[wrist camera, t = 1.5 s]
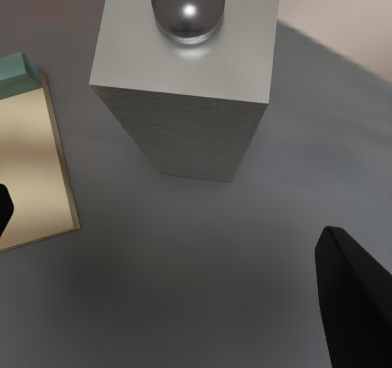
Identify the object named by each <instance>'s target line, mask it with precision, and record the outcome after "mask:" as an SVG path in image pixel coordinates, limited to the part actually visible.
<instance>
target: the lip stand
mask: <svg viewBox="0 0 392 368" xmlns="http://www.w3.org/2000/svg"><path fill="white" fill-rule="evenodd" d="M0 184H4V185H5V186H6V187H7V189H8V191H9V194H10V196H11V199H12V201H13V204H14V213H13V215H12V217H11V219H10V221H9V223H8V224H7V226H6V228H5V230H4V232H3V234H2V236H1V237H0V252H2V251H5V250H9V249H12V248H15V247H19V246H22V245H26V244H29V243H32V242H36V241H39V240H42V239H46V238H49V237H52V236H56V235H59V234H62V233H66V232H69V231H72V230H76V229H79V228H80V225H79V220H78V216H77V211H76V207H75V203H74V198H73V194H72V189H71V185H70V180H69V176H68V172H67V167H66V163H65V158H64V154H63V150H62V145H61V141H60V136H59V132H58V128H57V123H56V119H55V114H54V110H53V106H52V101H51V97H50V92H49V88H48V84H47V79H46V75H45V74H44V73H43V72H42V71H41V70H40V69H39V68H38V67H37V66H36V65H35V64H34V63H33V62H32V61H31V60H29V59H28V58H27V57H26V56H25V55H24V54H23V53H22V52H18V53H15V54H11V55H8V56H5V57H1V58H0Z"/></svg>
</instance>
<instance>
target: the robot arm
mask: <svg viewBox="0 0 392 368" xmlns="http://www.w3.org/2000/svg"><path fill="white" fill-rule="evenodd" d="M13 213H14V204H13V201H12V199H11V196H10V194H9V191H8V189H7V187H6V186H5V185H4V184H0V237H1V236H2V234H3V232H4V230H5V228H6V226H7V224H8V223H9V221H10V219H11V217H12V215H13ZM315 263H316V274H317V285H318V297H319V306H320V311H321V317H322V322H323V326H324V331H325V336H326V341H327V346H328V350H329V355H330V360H331V365H332V368H392V275H391V274H390V273H389V272H388V271H387V270H386V269H385V268H384V267H383V266H382V265H381V264H380V263H379V262H378V261H377V260H375V259H374V258H373V257H372V256H371V255H370V254H369V253H368V252H367V251H366V250H365V249H364V248H363V247H362V246H361V245H360V244H359V243H358V242H357V241H355V240H354V239H353V238H352V237H351V236H350V235H349V234H348V233H347V232H346V231H345V230H344V229H342V228H340V227H333V226H326V227H325V228H324V229H323V231H322V233H321V236H320V238H319V240H318V242H317V245H316V247H315Z"/></svg>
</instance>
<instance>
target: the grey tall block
mask: <svg viewBox="0 0 392 368" xmlns="http://www.w3.org/2000/svg"><path fill="white" fill-rule="evenodd" d="M278 2H279V0H106V2H105V7H104V12H103V17H102V22H101V27H100V32H99V37H98V42H97V47H96V52H95V57H94V62H93V67H92V72H91V77H90V82H89V85H90V86H91V88H92V89H93V90H94V91H95V93H96V94H97V95H98V96H99V98H100V99H101V100H102V101H103V103H104V104H105V105H106V106H107V108H108V109H109V110H110V111H111V113H112V114H113V115H114V116H115V118H116V119H117V120H118V121H119V123H120V124H121V125H122V126H123V128H124V129H125V130H126V131H127V133H128V134H129V135H130V136H131V138H132V139H133V140H134V141H135V143H136V144H137V145H138V146H139V148H140V149H141V150H142V151H143V153H144V154H145V155H146V156H147V158H148V159H149V160H150V161H151V163H152V164H153V165H154V166H155V168H156V169H157V170H158V171H159V173H160V174H163V175H172V176H180V177H188V178H196V179H204V180H212V181H220V182H228V183H231V182H232V180H233V178H234V175H235V173H236V171H237V169H238V167H239V165H240V163H241V161H242V159H243V156H244V154H245V152H246V150H247V148H248V146H249V144H250V142H251V139H252V137H253V135H254V133H255V131H256V129H257V127H258V125H259V123H260V120H261V118H262V116H263V114H264V112H265V110H266V108H267V106H268V103H269V93H270V83H271V73H272V63H273V53H274V43H275V33H276V23H277V13H278Z"/></svg>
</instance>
